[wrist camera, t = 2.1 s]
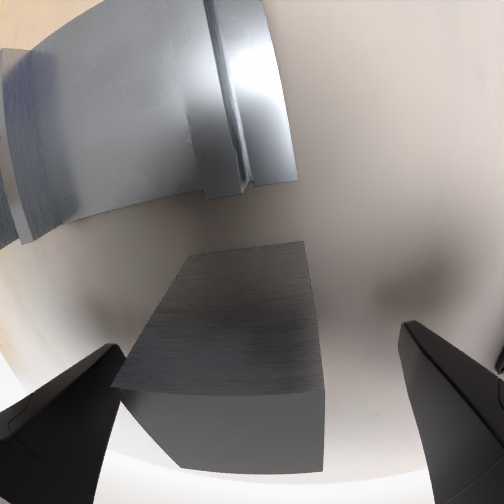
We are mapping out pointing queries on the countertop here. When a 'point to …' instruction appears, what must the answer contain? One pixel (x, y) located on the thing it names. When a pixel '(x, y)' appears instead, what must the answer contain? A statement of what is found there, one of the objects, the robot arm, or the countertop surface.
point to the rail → (139, 112)
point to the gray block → (232, 365)
